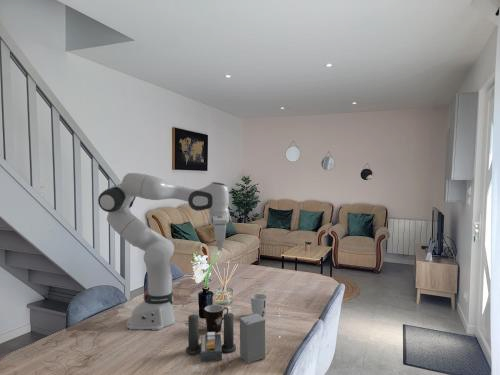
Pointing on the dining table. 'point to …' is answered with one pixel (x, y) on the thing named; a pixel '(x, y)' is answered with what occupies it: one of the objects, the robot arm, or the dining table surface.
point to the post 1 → (193, 335)
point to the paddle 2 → (210, 345)
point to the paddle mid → (211, 339)
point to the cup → (259, 304)
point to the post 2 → (228, 334)
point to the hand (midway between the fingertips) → (219, 248)
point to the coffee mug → (214, 317)
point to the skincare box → (252, 338)
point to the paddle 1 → (210, 334)
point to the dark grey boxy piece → (212, 353)
